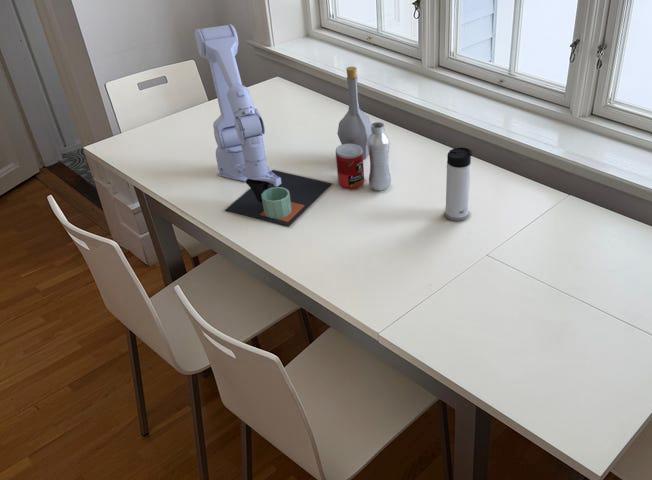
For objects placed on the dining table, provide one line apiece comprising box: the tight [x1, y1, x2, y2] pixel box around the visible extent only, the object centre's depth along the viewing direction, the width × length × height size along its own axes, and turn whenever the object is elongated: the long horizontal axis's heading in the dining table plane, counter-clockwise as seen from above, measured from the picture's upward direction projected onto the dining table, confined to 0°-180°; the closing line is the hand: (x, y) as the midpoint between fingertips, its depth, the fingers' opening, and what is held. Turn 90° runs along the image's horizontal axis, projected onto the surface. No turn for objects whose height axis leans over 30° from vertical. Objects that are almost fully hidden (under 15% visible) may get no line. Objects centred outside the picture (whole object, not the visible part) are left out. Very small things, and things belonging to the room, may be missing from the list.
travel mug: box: [445, 147, 474, 222], centre depth 179 cm, size 6×7×20 cm
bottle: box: [336, 66, 372, 161], centre depth 198 cm, size 11×11×30 cm
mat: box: [225, 169, 332, 228], centre depth 190 cm, size 20×24×1 cm
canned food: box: [335, 144, 365, 190], centre depth 194 cm, size 8×8×11 cm
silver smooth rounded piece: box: [367, 121, 392, 192], centre depth 189 cm, size 6×7×20 cm
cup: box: [261, 187, 292, 219], centre depth 182 cm, size 7×7×6 cm
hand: (262, 200), depth 185 cm, fingers closed
